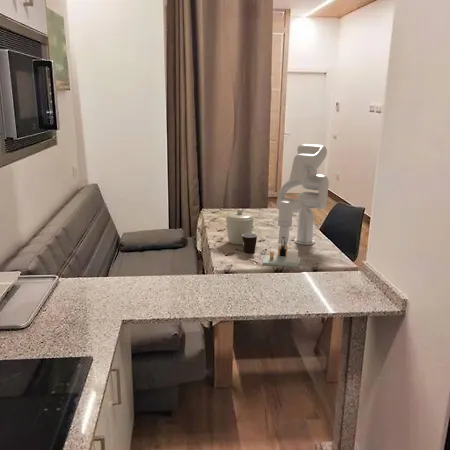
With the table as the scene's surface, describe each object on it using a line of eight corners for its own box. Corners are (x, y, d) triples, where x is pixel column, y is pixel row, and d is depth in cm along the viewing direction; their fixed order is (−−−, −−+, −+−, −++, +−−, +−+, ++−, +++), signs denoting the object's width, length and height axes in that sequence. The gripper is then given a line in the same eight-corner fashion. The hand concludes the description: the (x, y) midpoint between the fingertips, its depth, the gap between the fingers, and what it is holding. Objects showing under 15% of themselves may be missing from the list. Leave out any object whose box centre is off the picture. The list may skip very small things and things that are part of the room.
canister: (220, 244, 271) (220, 210, 265) (230, 236, 287) (231, 204, 282) (248, 248, 264) (249, 213, 259) (257, 240, 281) (258, 207, 275)
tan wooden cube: (278, 254, 255) (279, 245, 253) (288, 255, 254) (289, 245, 252) (277, 257, 250) (278, 248, 248) (287, 258, 248) (288, 248, 247)
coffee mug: (255, 254, 253) (256, 237, 251) (240, 253, 255) (240, 236, 252) (258, 248, 264) (258, 232, 262) (243, 247, 266) (244, 231, 263)
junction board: (265, 256, 250) (266, 245, 249) (300, 259, 246) (300, 248, 245) (262, 264, 238) (262, 252, 236) (298, 267, 234) (299, 255, 232)
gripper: (279, 219, 256) (278, 249, 260) (276, 226, 240) (274, 258, 244) (293, 220, 254) (291, 250, 259) (290, 227, 238) (288, 259, 242)
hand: (283, 254), depth 251 cm, fingers closed on tan wooden cube, 5 cm apart
